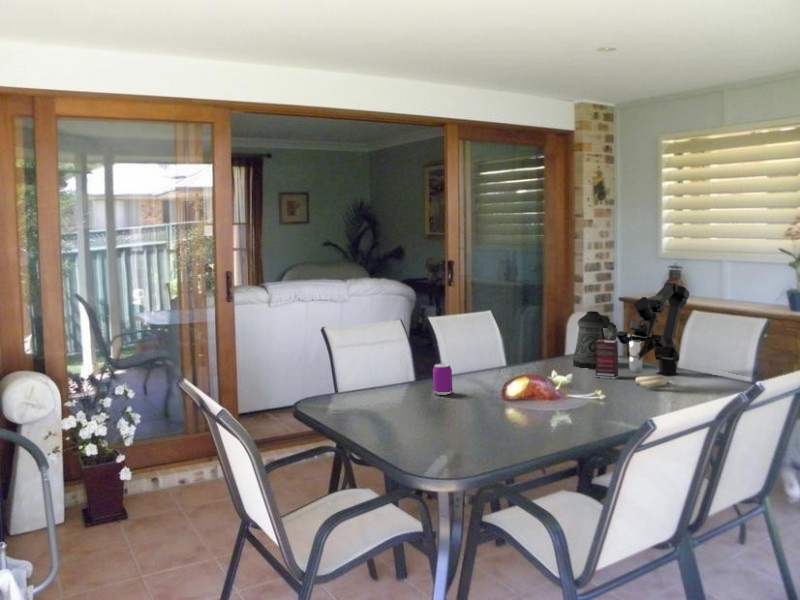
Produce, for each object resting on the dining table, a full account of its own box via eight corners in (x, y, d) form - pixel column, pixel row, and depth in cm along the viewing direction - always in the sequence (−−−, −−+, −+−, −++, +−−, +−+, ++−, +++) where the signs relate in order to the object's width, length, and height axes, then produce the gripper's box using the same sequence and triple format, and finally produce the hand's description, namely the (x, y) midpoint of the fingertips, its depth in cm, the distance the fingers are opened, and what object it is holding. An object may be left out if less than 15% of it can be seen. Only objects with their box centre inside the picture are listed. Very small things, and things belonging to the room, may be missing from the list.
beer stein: (570, 361, 346) (569, 309, 343) (612, 361, 344) (612, 308, 341) (575, 369, 330) (574, 314, 327) (619, 368, 328) (619, 313, 325)
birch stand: (629, 383, 302) (629, 378, 301) (650, 378, 307) (650, 374, 307) (651, 388, 291) (651, 383, 291) (673, 384, 296) (673, 379, 296)
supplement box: (618, 377, 313) (618, 340, 311) (615, 379, 309) (615, 342, 307) (598, 375, 317) (598, 339, 315) (595, 377, 313) (594, 341, 311)
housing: (626, 371, 293) (626, 341, 291) (635, 369, 295) (635, 339, 294) (635, 374, 288) (635, 342, 287) (645, 372, 291) (644, 341, 289)
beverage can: (451, 396, 292) (450, 367, 291) (432, 396, 294) (431, 367, 292) (453, 391, 300) (452, 363, 298) (435, 391, 301) (434, 363, 300)
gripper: (618, 311, 298) (605, 342, 292) (662, 314, 285) (649, 347, 279) (627, 327, 305) (615, 358, 298) (671, 331, 292) (659, 363, 285)
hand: (633, 356), depth 290 cm, fingers closed on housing, 5 cm apart
